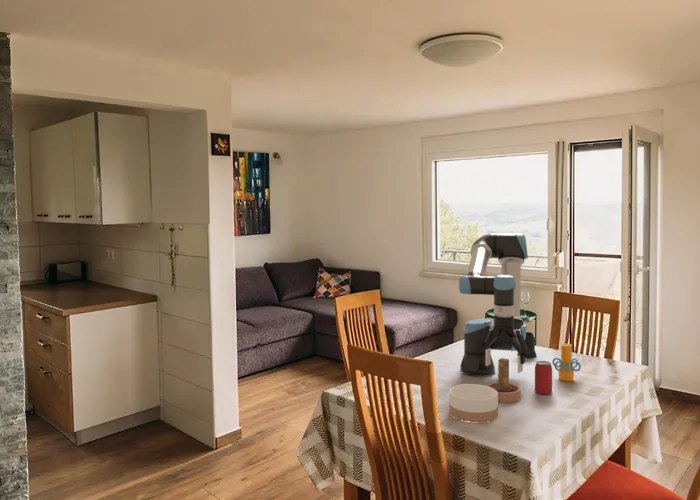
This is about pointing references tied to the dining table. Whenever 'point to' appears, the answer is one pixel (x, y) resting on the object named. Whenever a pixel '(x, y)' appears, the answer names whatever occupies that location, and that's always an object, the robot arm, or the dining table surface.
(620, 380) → the dining table surface
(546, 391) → the beer can
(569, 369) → the cylinder
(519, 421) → the dining table surface
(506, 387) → the tall wooden post
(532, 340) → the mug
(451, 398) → the bowl
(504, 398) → the shallow terracotta dish
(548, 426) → the dining table surface
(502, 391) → the clip
